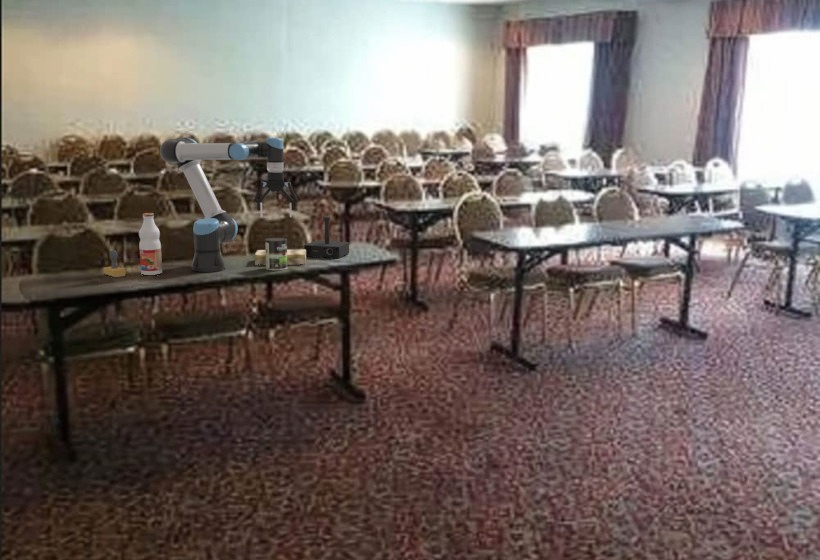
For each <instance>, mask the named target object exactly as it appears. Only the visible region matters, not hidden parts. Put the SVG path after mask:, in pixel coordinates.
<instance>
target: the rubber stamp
mask: <svg viewBox="0 0 820 560" xmlns="http://www.w3.org/2000/svg"><path fill="white" fill-rule="evenodd" d="M118 255H119V254H118V252H117V251H116V250H115V249H112V250H110V252H109V258H110V260H111V263H112V266H105V267H103V274H104V273H106V274H109V275H112V276H118V275H125V274H126V275H127V273H126V272H127V270H126V268H124V267H121V266H117V260H118Z"/></svg>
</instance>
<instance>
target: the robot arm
mask: <svg viewBox="0 0 820 560" xmlns="http://www.w3.org/2000/svg"><path fill="white" fill-rule="evenodd" d="M283 140H284V139H282V137H267V138H266V141H255V140H254V141H253V140H251V141H250V140H249V141H246V140H245V141H244V142H208V143H206V142H202V143H199V142H197V141H196V139H195V140H194V139H192V138H190V137H181V138H180V137H179V138H170V139H167V140H164V141H163V142H162V144H161V145H160V146H159V148H160V149H159V154H160V157H161V159H162V160H163V161H164V162H166V163H168V164H171V165H175V166H176V167H177V169H178V171H180V172H182V173H183V174H184V177H185V178H186V180H187V183H188V185H189V186H190V188H191V190H192V193H193V195H194V196H195V198H196V201H197V203H198V205H199V207H200V209H201V212H202V213H203V215H204V218H201V219H198V220H197V219H196V221H194V222H193V228H192V231H193V243H194V244H193V245H194V246H193V247H194V256H193V260H192V263H191V271H192V270H194V271H193V272H195V271H199V272H198V273H213V272H214V271H215V272H220V270H221V271H224V270H225V266H226V265H225V262H224V260H223V259H224V258H223V256H222V254H221V244H225V243H228V242H230V241H232V240H234V239H235V238H236V236H237V234H238V230H239V228H238V227H239V226H238V223H237V222H236V220H235V219H234V218H232V217H230V216H229V214H228V213H227V211H226V210H223V209H222V208H221V206H220V204H219V201H218V199H217V198H216V197H217V196H216V195H215V192H214V190H213V189H212V186H211V184H210V183H209V180H208V178H207V176H206V175H205V173H204V170H203V168H202V166H201V163H202V161H210V160H211V161H213V160H214V161H215V160H217V161H218V160H219V161H220V160H221V161H222V160H223V161H224V160H225V161H227V160H228V161H229V160H233V161H234V160H235V161H243V160H244V161H245V160H249V159H266V170H267V174H266V175H267V176H266V177H267V180H266V182H264V181H261V182H260V187H259V189H258V190H257V193H256V195H255V197H254V199H253V202H254V203H257V210H258V211H260V214H259V215H260V218H263V202H262V201H263V200H264V199H265V198H266V196H268V194H269V193H270V192H272V193H275V192H278V193H279V192H281V193H283V195H285V197H286V198H287V199H288V200H289V201H290V202H289V218H292V217H293V216H292V214H293V213H292V211H294V210H295V203H297V202H298V201H299V200H298V197H297V195H296V194H295V191H294V190H293V187H292V185H291V183H292V182H290V181H288V182H286V181H285V179H284V177H285V175H284V141H283ZM285 186H286V188H287V189H288V190H289V192H290V194H291V195H290V194H289V193H288V192H287V191H286V190H285V188H284V187H285ZM264 187H267V188H268V189H266V191H265V192H264V193H263V194H262V196H261V197H260V195H261V192H262V190H263V188H264ZM291 196H292V197H291ZM259 197H260V198H259ZM258 198H259V199H258ZM223 269H224V270H223Z"/></svg>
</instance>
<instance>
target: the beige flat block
mask: <svg viewBox="0 0 820 560" xmlns="http://www.w3.org/2000/svg"><path fill="white" fill-rule="evenodd" d="M306 262H307V256H306V249H302V248H301V249H287V266H288V265H289V266H292V265H293V266H294V265H296V266H297V265H300V264H303V266H304V265H306ZM258 264H259V265H258ZM260 264H265V265H264V266H266V249H257V250H256V252H255V253H254V266H261V265H260Z"/></svg>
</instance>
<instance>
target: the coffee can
mask: <svg viewBox="0 0 820 560" xmlns="http://www.w3.org/2000/svg"><path fill="white" fill-rule="evenodd" d="M264 242H265V250H266V265H265V270H268V271H285V270H288V268H289V267H288V265H287V250H288V239H287V238H285V237H268V238H265V239H264Z"/></svg>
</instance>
